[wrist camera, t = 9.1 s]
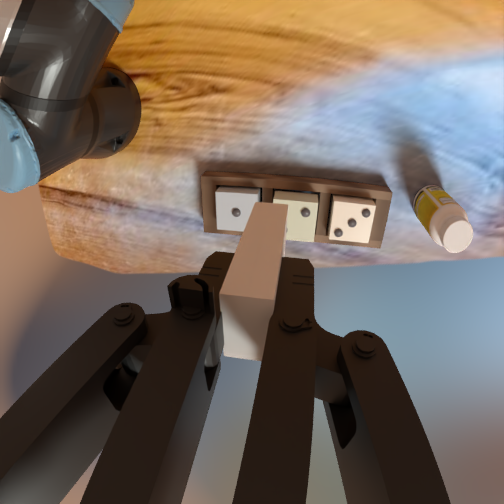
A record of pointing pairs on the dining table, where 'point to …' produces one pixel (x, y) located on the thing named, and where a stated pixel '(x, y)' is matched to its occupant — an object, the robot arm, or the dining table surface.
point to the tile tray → (323, 186)
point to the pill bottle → (443, 218)
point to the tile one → (235, 206)
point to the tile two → (299, 214)
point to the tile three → (351, 218)
